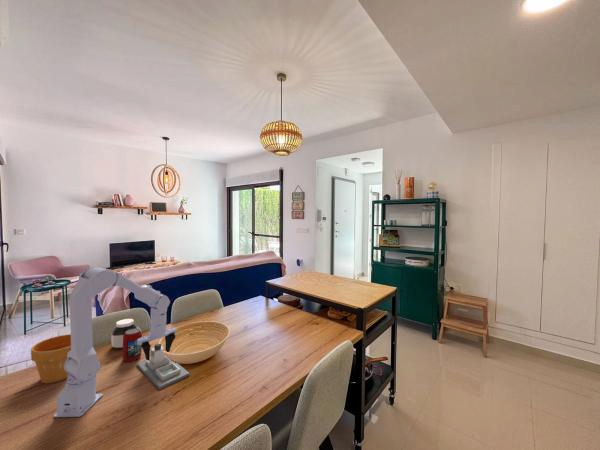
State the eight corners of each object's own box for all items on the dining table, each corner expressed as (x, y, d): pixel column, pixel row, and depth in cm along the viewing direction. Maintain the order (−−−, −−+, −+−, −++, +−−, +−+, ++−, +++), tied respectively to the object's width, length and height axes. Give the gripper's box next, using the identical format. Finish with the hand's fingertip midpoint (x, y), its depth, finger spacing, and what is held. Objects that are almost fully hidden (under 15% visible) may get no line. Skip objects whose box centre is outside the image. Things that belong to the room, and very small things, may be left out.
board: (189, 375, 97) (189, 369, 97) (159, 389, 88) (159, 382, 88) (165, 355, 111) (165, 349, 111) (137, 365, 102) (137, 359, 102)
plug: (164, 362, 103) (165, 345, 103) (154, 367, 100) (154, 348, 100) (160, 359, 105) (160, 341, 105) (150, 363, 102) (150, 345, 102)
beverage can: (131, 363, 103) (132, 335, 103) (118, 361, 105) (119, 333, 104) (145, 355, 110) (145, 328, 110) (132, 353, 111) (132, 326, 111)
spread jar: (110, 352, 111) (111, 326, 111) (111, 342, 121) (112, 318, 120) (142, 345, 119) (143, 321, 118) (140, 336, 128) (141, 313, 127)
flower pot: (34, 373, 95) (34, 340, 95) (83, 361, 104) (83, 330, 104) (26, 394, 84) (27, 356, 84) (82, 378, 93) (82, 344, 93)
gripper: (172, 315, 111) (171, 345, 111) (134, 325, 99) (134, 359, 100) (179, 320, 106) (178, 351, 106) (141, 331, 95) (140, 366, 95)
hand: (157, 355), depth 103 cm, fingers open, 7 cm apart
